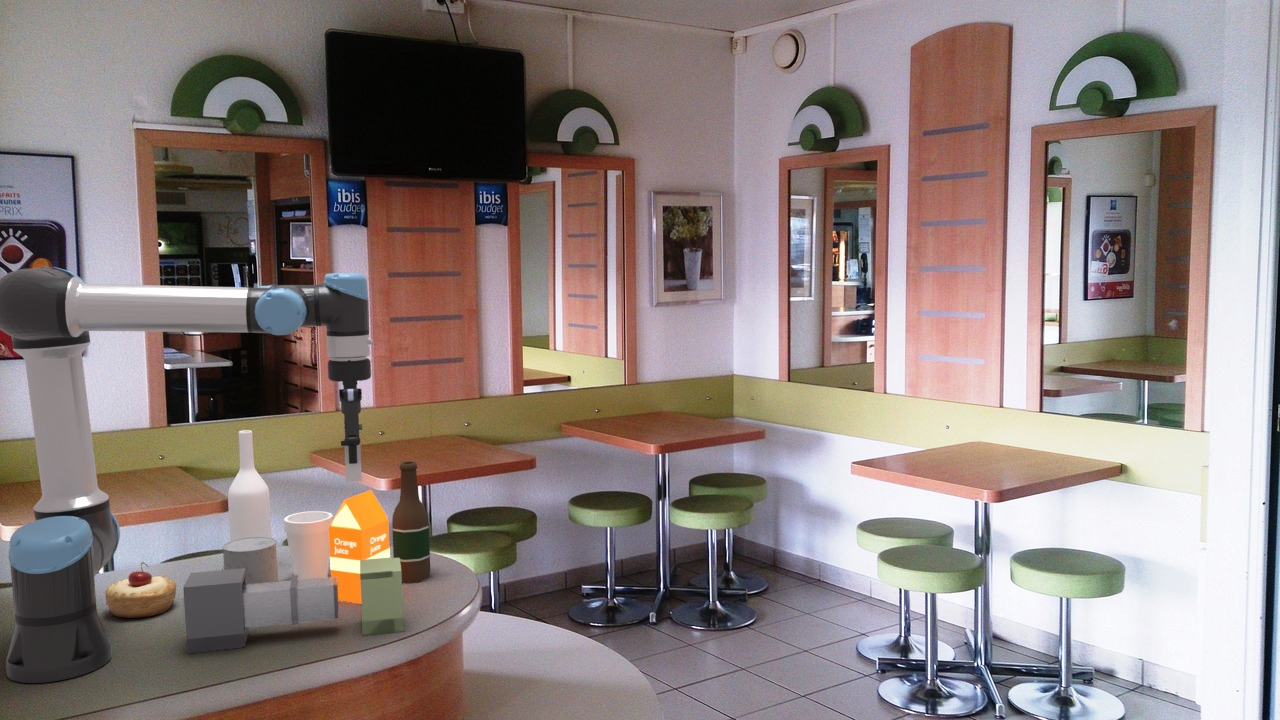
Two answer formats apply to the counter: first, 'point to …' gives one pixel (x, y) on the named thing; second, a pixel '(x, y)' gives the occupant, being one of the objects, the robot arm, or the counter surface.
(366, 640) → the counter surface
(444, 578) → the counter surface
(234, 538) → the bottle
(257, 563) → the gray cylinder
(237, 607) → the sleeve
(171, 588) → the pastry
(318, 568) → the foam cup
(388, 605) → the socket
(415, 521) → the beer bottle
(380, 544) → the orange juice
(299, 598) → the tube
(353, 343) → the robot arm
